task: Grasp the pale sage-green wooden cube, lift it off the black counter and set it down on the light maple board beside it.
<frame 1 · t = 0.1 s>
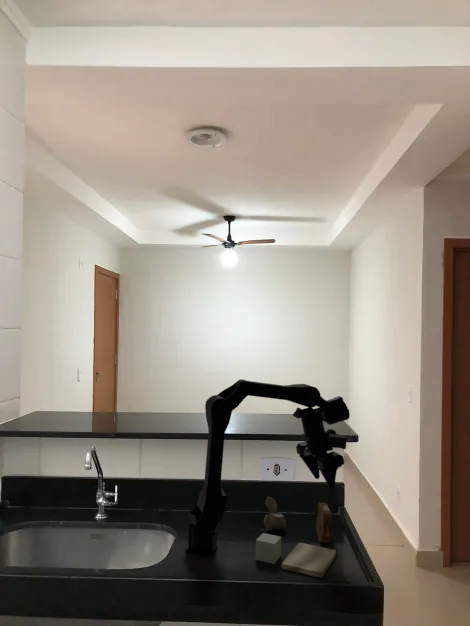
hand: (324, 483, 149), 15 cm above the countertop, tool pointing down, fingers open, 9 cm apart
sage cube: (268, 558, 136), on the countertop
beige lumpy figure: (274, 529, 155), on the countertop
maple board: (309, 561, 135), on the countertop
tin: (323, 537, 151), on the countertop
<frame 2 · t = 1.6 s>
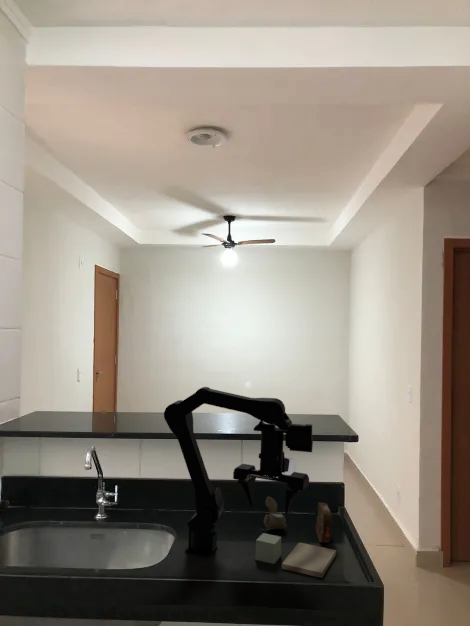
hand: (269, 510, 136), 12 cm above the countertop, tool pointing down, fingers open, 9 cm apart
nothing on the countertop moved.
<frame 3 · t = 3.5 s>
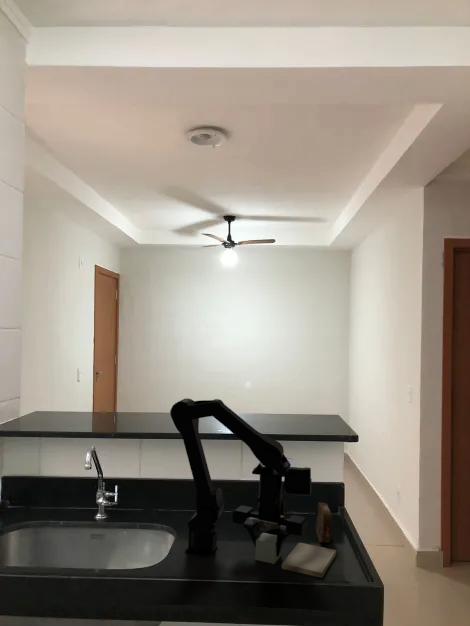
hand: (268, 553, 136), 1 cm above the countertop, tool pointing down, fingers closed on sage cube, 5 cm apart
sage cube: (268, 557, 136), on the countertop, touching gripper
everything else where it was.
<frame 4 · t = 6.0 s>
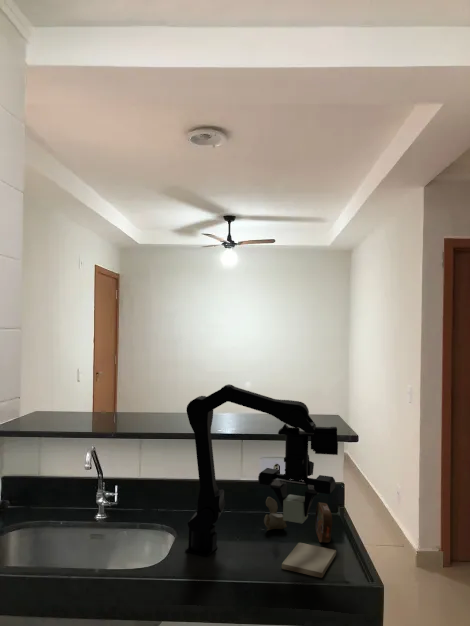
hand: (295, 514, 135), 11 cm above the countertop, tool pointing down, fingers closed on sage cube, 5 cm apart
sage cube: (295, 518, 135), point 10 cm above the countertop, touching gripper
everything else where it was.
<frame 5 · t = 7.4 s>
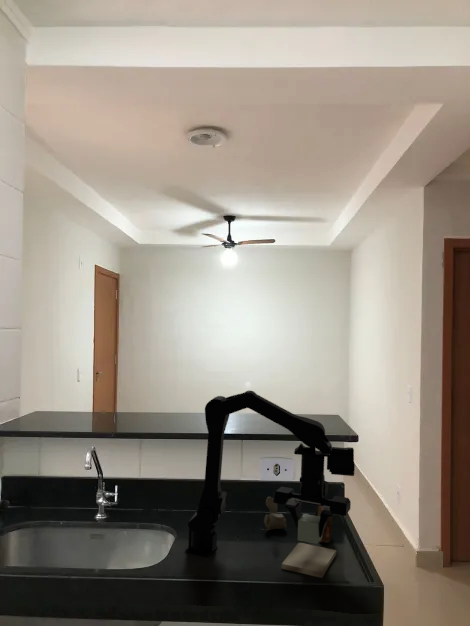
hand: (310, 534, 135), 7 cm above the countertop, tool pointing down, fingers closed on sage cube, 5 cm apart
sage cube: (310, 538, 135), point 6 cm above the countertop, touching gripper
everything else where it was.
when the fingers open (3 cm above the countertop, at t = 8.6 s): sage cube stays where it is, resting on maple board.
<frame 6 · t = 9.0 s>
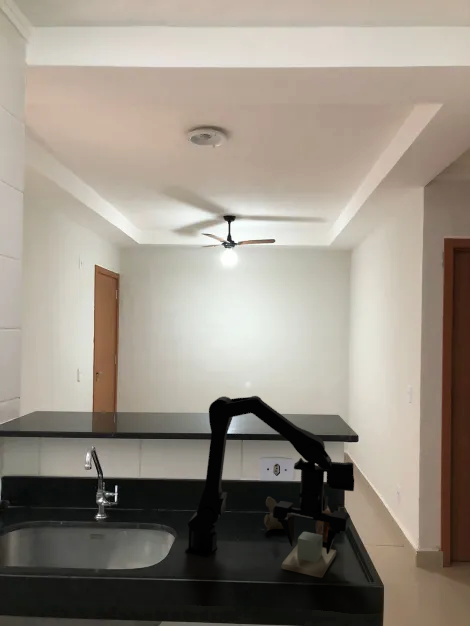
hand: (309, 549, 135), 3 cm above the countertop, tool pointing down, fingers open, 9 cm apart
sage cube: (309, 556, 135), point 1 cm above the countertop, touching maple board
everything else where it was.
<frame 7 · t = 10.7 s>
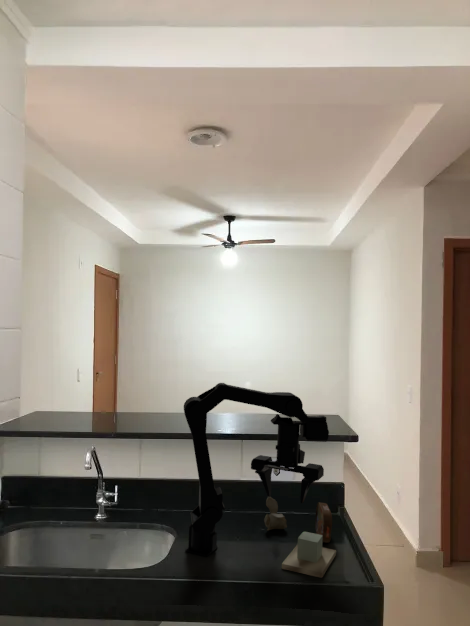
hand: (285, 499, 142), 13 cm above the countertop, tool pointing down, fingers open, 9 cm apart
nothing on the countertop moved.
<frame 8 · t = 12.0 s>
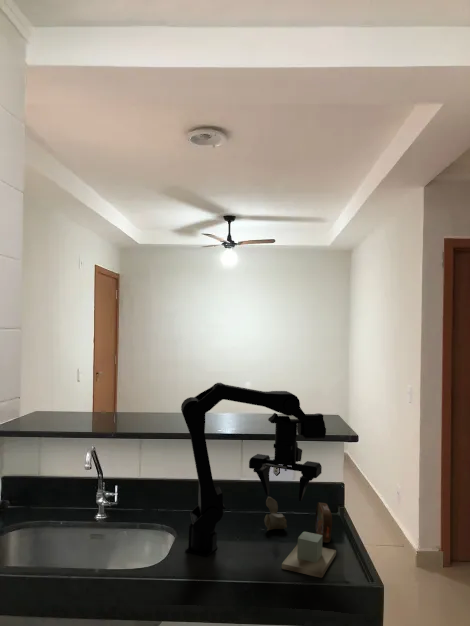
hand: (283, 497, 143), 13 cm above the countertop, tool pointing down, fingers open, 9 cm apart
nothing on the countertop moved.
at the end: sage cube 0.0 cm from the maple board (horizontally); sage cube point 1.2 cm above the countertop; the gripper is holding nothing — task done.
